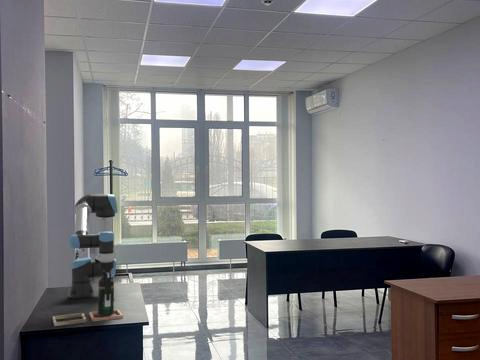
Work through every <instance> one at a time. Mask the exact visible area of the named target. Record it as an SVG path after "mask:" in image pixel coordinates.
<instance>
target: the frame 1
mask: <svg viewBox="0 0 480 360" xmlns="http://www.w3.org/2000/svg"><path fill="white" fill-rule="evenodd" d="M79 317H80V318H81V319H73V320H71V319H72V318H79ZM64 319H70V320H64ZM57 320H62V321H57ZM63 320H64V321H63ZM52 322H53V326H54V327H59V326H66V325H73V324H74V325H75V324H83V323H84V324H85V323H87V317H86V316H85V313H84V312H80V313H71V314H62V315H54V316H53V315H52Z"/></svg>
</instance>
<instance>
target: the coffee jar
mask: <svg viewBox="0 0 480 360" xmlns="http://www.w3.org/2000/svg"><path fill="white" fill-rule="evenodd" d="M105 285H106V280H103V279H102V278H99V280H98V285H97V287H98V289H97V291H98V296H97V297H98V298H97V311H98V314H99V315H98V316H99V317H106V316H113V315H114V313H113V312H114V310H115V309H114V308H115V307H114V305H115V282H114V279H113V278H111V294H110V306H109V307H105V294H104V293H105Z"/></svg>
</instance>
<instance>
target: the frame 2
mask: <svg viewBox="0 0 480 360" xmlns="http://www.w3.org/2000/svg"><path fill="white" fill-rule="evenodd" d="M88 313H89V314H88V316H89V317H90V319H91V321H92V322H99V321H100V322H101V321H109V320H117V319H123V318H124V314H123V313H122V312H121V311H120V310H119V309H118V308H117V309H116V308H115V309H114V312H113V314H114V315H108V316H100V315H99V314H98V310H97V311H90V312H88ZM115 313H116V315H115ZM95 316H99V317H95Z"/></svg>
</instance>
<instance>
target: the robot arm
mask: <svg viewBox="0 0 480 360" xmlns="http://www.w3.org/2000/svg"><path fill="white" fill-rule="evenodd" d="M73 211H74V215H75V221H74V223H75V224H74V233H73V234H71V235H70V239H69V247H70V249H76V250H79V249H97V255H96V256H95V259H93V258H92V257H81V258H78V259H75V260H73V261H72V263H71V286H70V288H69V291H68V298H70V299H86V298H87V299H88V298H91V297H94V296H95V290H94V287H93V284H92V279H103V280H106V285H105V293H104V294H105V307H109V306H110V294H111V279H112V278H114V276H115V275H116V270H117V259H116V258H115V251H114V250H115V249H114V248H115V232H113V218H114V217H116V214H117V213H118V204H117V198H116V195H115V194H111V193H104V194H103V193H96V194H95V193H94V194H90V193H89V194H85V195H84V196H82V197H81V198H79V199H78V200H77V202H76V203H75V205H74V210H73ZM91 214H95V217H96V218H97V223H98V224H97V233H90V215H91Z"/></svg>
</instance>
